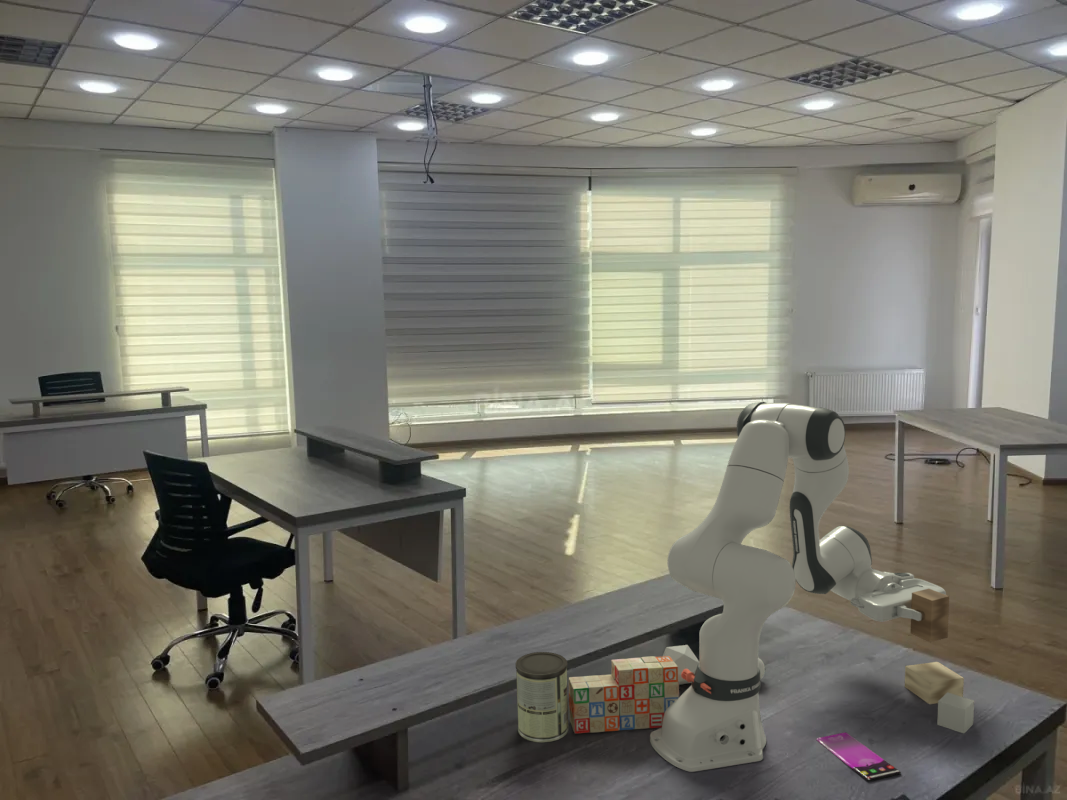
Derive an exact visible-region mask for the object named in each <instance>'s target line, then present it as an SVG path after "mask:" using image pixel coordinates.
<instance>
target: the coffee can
mask: <svg viewBox="0 0 1067 800" xmlns="http://www.w3.org/2000/svg"><path fill="white" fill-rule="evenodd" d="M567 668H568V660H567V659H566V658H565V657H564V656H563V655H561V654H558V653H556V652H550V651H536V652H529V653H526V654H525V655H522V656H520V657H519V658H517V659H516V662H515V670H516V696H517V697H516V698H517V702H516V703H517V731H518V732H517V733H518V734H519V735H520V736H521V738H523V739H524V740H527V741H529V742H534V743H550V742H551V743H552V742H555V741H558V740H560V739H562V738H564V737H565V736H566V735H567V734H568V732H569V727H570V726H569V712H568V711H569V708H568V707H569V701H568V673H567V672H568V670H567Z"/></svg>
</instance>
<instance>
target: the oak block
mask: <svg viewBox="0 0 1067 800" xmlns="http://www.w3.org/2000/svg"><path fill="white" fill-rule="evenodd" d="M904 669H905V670H904V688H905V689H907V690H909V691H910V692H911V693H913V694H914V695H915V696H917V697H918V698H920V699H922V701H924V702H925V703H927V704H929V705H933V704H938V701H939V700H940V699H941V698H942V697H943V696H944V695H945V694H946V693H947V692H948V693H951V694H954V695H958V696H961V697H964V687H965V685H964V683H965V678H964V677H963V676H961V675H960V674H958V673H957V672H955V671H954V670H952V669H950V668H948V667H947V666H946V665H943V664H942V663H940V662H939V661H932V662H925V663H924V662H923V663H917V664H911V665H910V664H908V665H905V667H904Z"/></svg>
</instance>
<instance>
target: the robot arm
mask: <svg viewBox="0 0 1067 800" xmlns="http://www.w3.org/2000/svg"><path fill="white" fill-rule="evenodd" d="M736 434H737V435H736V436H737V439H736V441H735V443H734V445H733V448H732V451H731V454H730V457H729V459H728V462H727V467H726V469H725V472H724V477H723V480H722V482H721V485H720V488H719V489H720V490H719V492H718V495H717V497H716V500H715V503H714V505H713V506H712V509H710V511H709V512H708V515H707V516H706V517H705V518H704V519H703V521H702V522H700V524H699V525H698V526H696V528H694V529H693V530H691V531H690V532H689V533H687V534H685V535H683V536H681V537H679V538H677V540H676V541H675V542H674V543H673V544H672V546H671V547H670V550H669V551H668V555H667V569H668V572H669V575H670V577H671V579H672V580H673V581H674V582H676V583H677V584H679V585H681V586H682V587H684V588H686V589H688V590H691V591H692V592H695V593H698V594H703V595H704V596H709V597H713V598H715V599H719V600H721V601H722V603H723V604H722V605H723V611H722V613H718V614H716V615H713V616H710V617H709V618H707V619H706V620H705V621H704V623H703V624H702V626H701V627H700V628H699V629H700V630H699V632H698V633H699V639H698V640H699V642H698V643H699V645H698V646H699V648H698V650H699V652H698V653H699V656H698V658H699V659H698V660H699V664H698V666H697V668H696V671H695V674H694V673H693V672H690V670H688V669H684V670H683V672H681V673H682V674H681V677H682V678H683V679H685V680H686V681H687V682H692V683H690V684H691V685H690V686H689V687H688V688H687V689H686V690H685V691H684V692H683V693H682V694H681V695H679V698H678V699H677V700H676V701H675V702H674V703H673V704H672V705H670V706H669V707H668V708H667V709H666V711H665V713H664V717H663V723H662V727H661V728H657V729H656V730H654V731H651V732H650V735H649V742H650V745H651V747H652V748H653V750H655V752H656V753H657V754H659V755H660V757H662V758H663V759H664V760H666V762H668V763H669V764H671V765H673V766H674V767H677V768H678V769H681V770H683V771H685V772H689V773H694V772H700V771H707V770H713V769H718V768H725V767H731V766H736V765H742V764H748V763H756V762H760V761H762V760H763V759H764V753H763V750H764V748H765V746H766V744H767V737H766V734H765V730H764V727H763V726H764V725H763V721H762V716H761V715H762V714H761V710H760V709H761V708H760V699H759V697H760V696H759V692H760V691H761V679H760V669H759V668H758V658H759V652H760V651H759V648H760V637H761V633H762V629H763V628H764V624H765V623H766V621H767V620H768V618H769V617H771V615H773V614H774V613H775V612H777V611H779V610H781V609H783V608H785V606H786V605H787V604H788V603H790V600H792V598H793V595H794V593H795V590H796V584H798V585H799V587H800V588H802V590H804V591H806V592H808V593H811V594H817V595H827V594H828V593H829V592H830V591H831V592H833V593H834V594H835V595H838V596H840V597H841V598H843V599H846V600H848V601H849V602H850V605H851V606H853V607H855V608H857V609H858V611H859V612H860V613H861V614H863V615H865V616H866V617H868V618H869V619H871V620H873V621H876V622H881V623H883V622H888V621H892V620H895V619H899V618H904V619H910V620H911V619H914V620H917V621H921V620H924V619H925V617H924V616H925V613H924V612H923V611H920V610H918V609H917V610H913V609H911V602H912V593H913V592H917V591H921V590H925V589H932V590H934V591H937V592H939V593H942V594H945V595H947V592H946V590H945V589H944V588H943V587H941V586H940V585H937V584H934V583H932V582H929V581H927V580H924V579H921V578H917V577H916V578H915V575H914V574H913V573H910V572H888V571H881V570H878V569H876V568H872V564H873V560H872V559H873V558H872V551H871V546H870V543H869V541H868V539H867V537H866V536H865V535H864V534H863V533H862V532H860V531H859V530H857V529H855V528H853V527H851V526H849V525H848V526H847V525H838V526H837V527H835V528H833V529H832V530H831V531H829V532H828V533H826V534H825V535H824V536H822V538H820V531H819V529H820V528H819V527H820V522H821V520H822V517H823V515H824V514H825V512H826V511H827V509H828V508H829V507H830V506H831V504H832V503H833V502H834V501H835V499H836V498H837V497H838V496H839V495H840V494H841V493H842V491H843V490H844V489H845V488H846V486H847V483H848V480H849V475H850V465H849V460H848V455H847V451H846V448H845V439H846V425H845V422H844V419H842V417H841V416H840V414H839V413H838V412H837V411H834V410H831V409H829V408H826V407H813V406H808V405H803V404H795V403H792V402H768V403H767V402H765V401H759V402H754V403H753V402H752V403H749V404H747V405H746V406H745V407H744V408H743V409H742V411H741V412H740V413H739V416H738V418H737V420H736ZM789 459H792V462H793V466H794V467H793V468H794V483H793V490H792V494H791V496H790V499H789V517H790V518H789V519H790V520H789V521H790V530H791V540H792V549H793V550H792V551H793V556H792V562H790V561H789V560H788V559H787V558H784V557H782V556H780V555H777V554H776V553H774V552H771V551H769V550H767V549H763V548H759V547H755V546H754V547H753V546H750V545H746V544H742V543H743V541H744V539H745V538H746V537H747V536H748V535H749V534H750V533H752V532H753V531H755V530H757V529H761V528H762V527H763V528H764V527H765V526H767V525H769V524H770V523H771V522H772V521H773V519H775V516H776V513H777V510H778V509H777V508H778V505H779V502H780V497H781V493H782V490H783V487H784V481H785V478H786V472H787V470H788V463H789V462H788V461H789ZM791 563H792V564H791Z"/></svg>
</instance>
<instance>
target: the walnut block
mask: <svg viewBox="0 0 1067 800" xmlns="http://www.w3.org/2000/svg"><path fill="white" fill-rule="evenodd" d="M911 609H913V610H917V609H918V610H920V611H923V612H924V613H925V616H924V617H925V619H924V620H921V621H917V620H914V619H910V634H911V635H913V636H915V637H918V638H920V639H921V640H923V641H926V642H929V643H934V642H937V641H941V640H944V639H947V638H948V636H949V615H950V614H949V613H950V612H949V611H950V595H947V594H946V595H945V594H942V593H939V592H937V591H934V590H932V589H925V590H921V591H917V592H913V593H912V602H911Z"/></svg>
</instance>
